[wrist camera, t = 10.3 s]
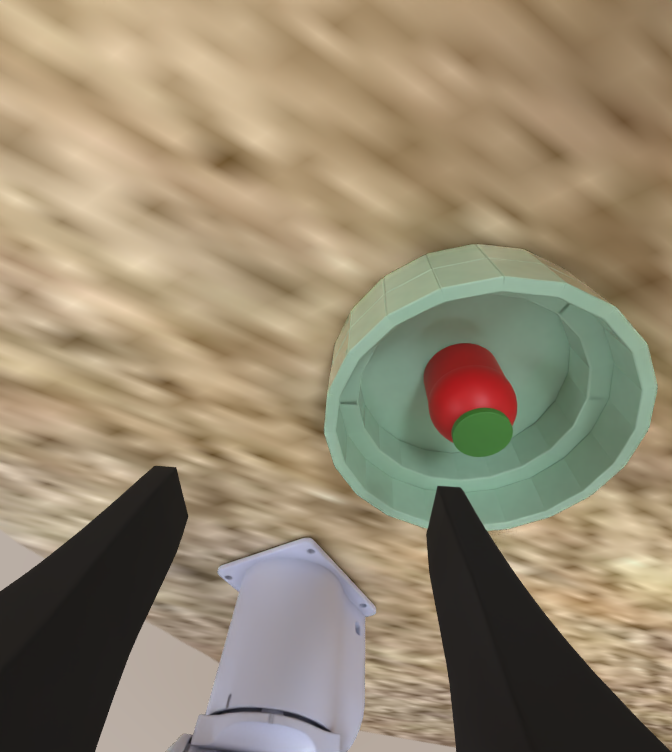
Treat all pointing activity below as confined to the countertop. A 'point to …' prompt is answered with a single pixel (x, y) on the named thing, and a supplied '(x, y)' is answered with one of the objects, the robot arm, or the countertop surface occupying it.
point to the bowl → (521, 368)
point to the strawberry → (470, 399)
